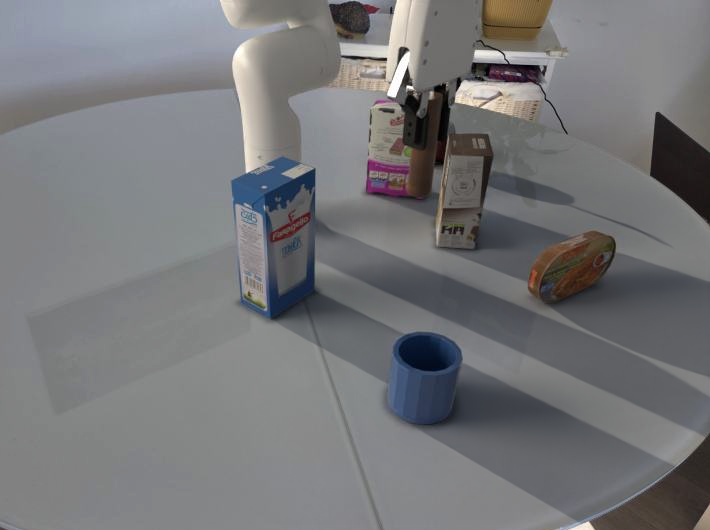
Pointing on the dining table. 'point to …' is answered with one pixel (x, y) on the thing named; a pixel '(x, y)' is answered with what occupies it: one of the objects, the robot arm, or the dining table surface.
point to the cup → (423, 377)
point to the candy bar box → (387, 151)
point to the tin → (571, 266)
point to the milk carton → (275, 234)
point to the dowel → (425, 152)
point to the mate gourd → (443, 145)
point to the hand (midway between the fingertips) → (424, 141)
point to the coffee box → (463, 189)
